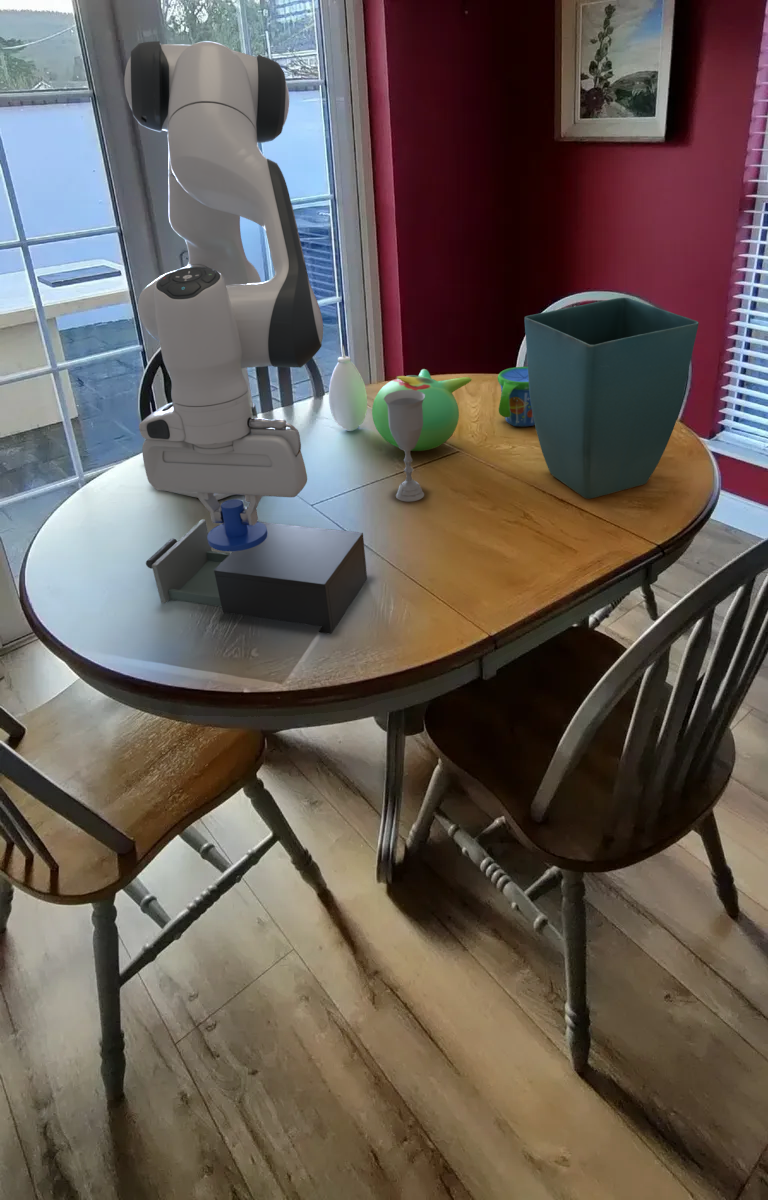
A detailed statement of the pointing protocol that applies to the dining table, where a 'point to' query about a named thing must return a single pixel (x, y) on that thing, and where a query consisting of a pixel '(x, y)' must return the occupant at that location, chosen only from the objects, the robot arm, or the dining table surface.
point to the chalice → (406, 434)
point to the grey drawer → (188, 568)
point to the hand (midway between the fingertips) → (235, 522)
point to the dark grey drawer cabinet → (295, 576)
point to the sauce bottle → (347, 394)
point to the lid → (235, 530)
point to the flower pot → (606, 390)
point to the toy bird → (423, 408)
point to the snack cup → (515, 397)
